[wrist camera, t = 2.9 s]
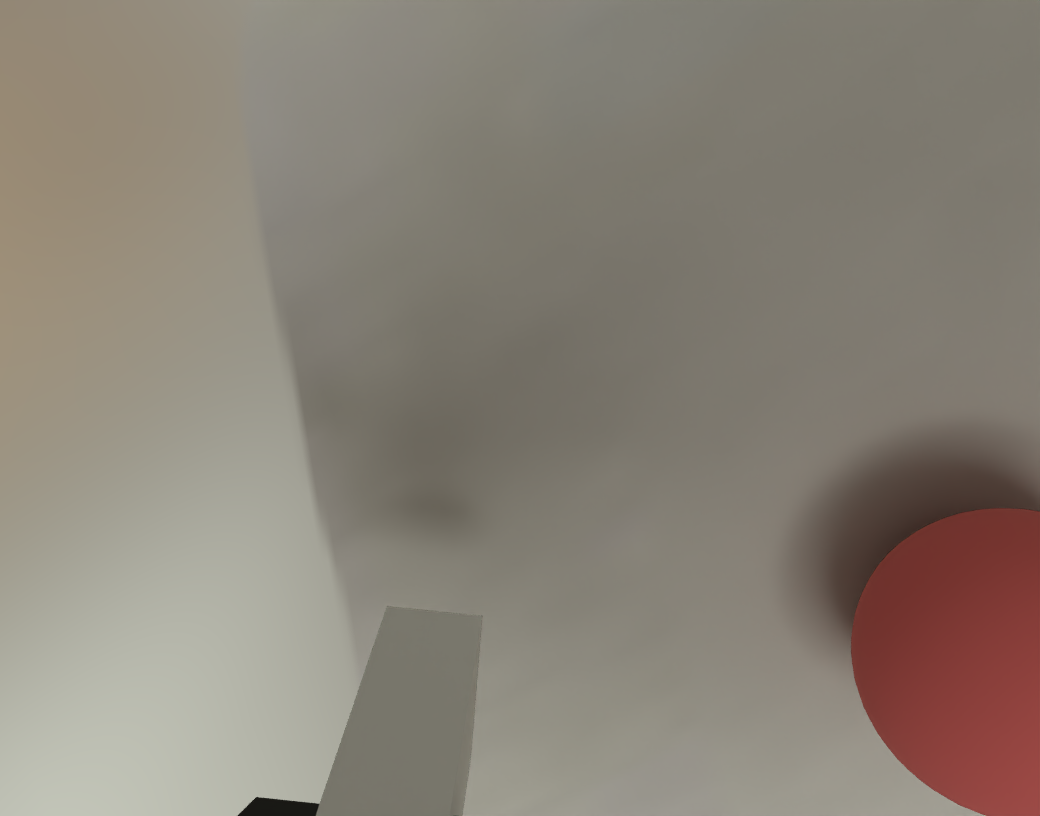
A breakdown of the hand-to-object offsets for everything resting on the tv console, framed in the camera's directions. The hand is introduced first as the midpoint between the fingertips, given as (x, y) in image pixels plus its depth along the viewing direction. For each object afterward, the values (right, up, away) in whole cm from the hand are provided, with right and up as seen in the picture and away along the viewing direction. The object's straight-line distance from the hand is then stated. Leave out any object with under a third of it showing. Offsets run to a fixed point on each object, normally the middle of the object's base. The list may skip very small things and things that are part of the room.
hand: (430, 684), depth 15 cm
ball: (+10, 0, +2) cm, 11 cm away
